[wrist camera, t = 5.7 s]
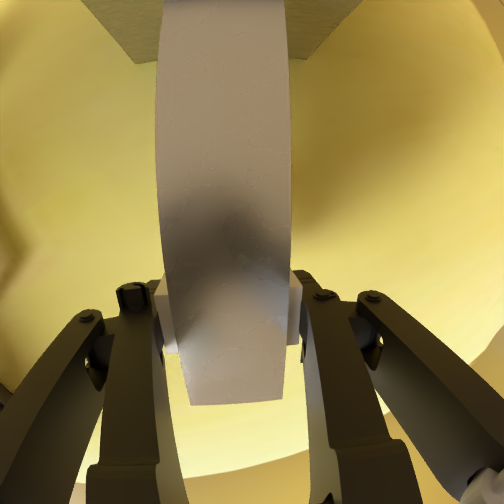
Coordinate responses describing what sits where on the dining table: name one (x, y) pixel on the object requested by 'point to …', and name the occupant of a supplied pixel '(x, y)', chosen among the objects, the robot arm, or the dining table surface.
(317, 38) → the block
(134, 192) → the dining table surface
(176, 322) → the shaft
